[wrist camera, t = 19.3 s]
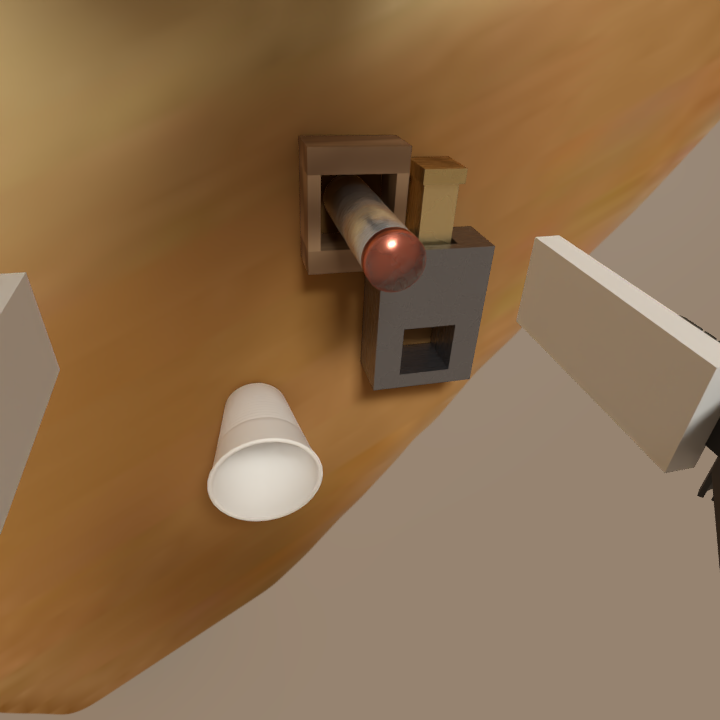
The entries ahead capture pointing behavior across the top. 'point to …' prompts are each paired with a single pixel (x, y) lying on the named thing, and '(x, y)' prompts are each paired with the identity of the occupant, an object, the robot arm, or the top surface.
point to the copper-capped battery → (374, 234)
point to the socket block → (429, 316)
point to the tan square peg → (433, 198)
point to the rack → (346, 159)
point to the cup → (262, 458)
